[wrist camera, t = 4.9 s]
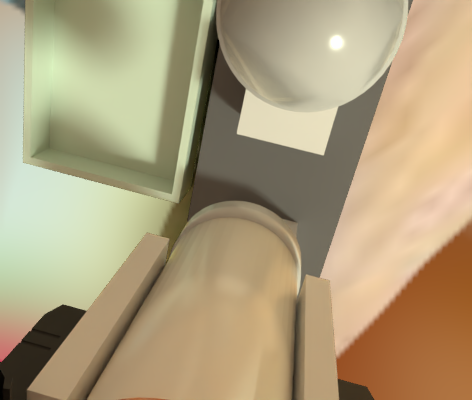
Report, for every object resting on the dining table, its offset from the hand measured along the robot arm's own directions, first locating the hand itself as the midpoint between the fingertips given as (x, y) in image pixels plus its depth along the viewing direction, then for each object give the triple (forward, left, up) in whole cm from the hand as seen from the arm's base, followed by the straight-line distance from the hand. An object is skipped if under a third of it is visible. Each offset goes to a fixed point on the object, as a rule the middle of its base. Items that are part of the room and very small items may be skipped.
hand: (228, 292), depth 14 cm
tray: (-10, +3, -16) cm, 19 cm away
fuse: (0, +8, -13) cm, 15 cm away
